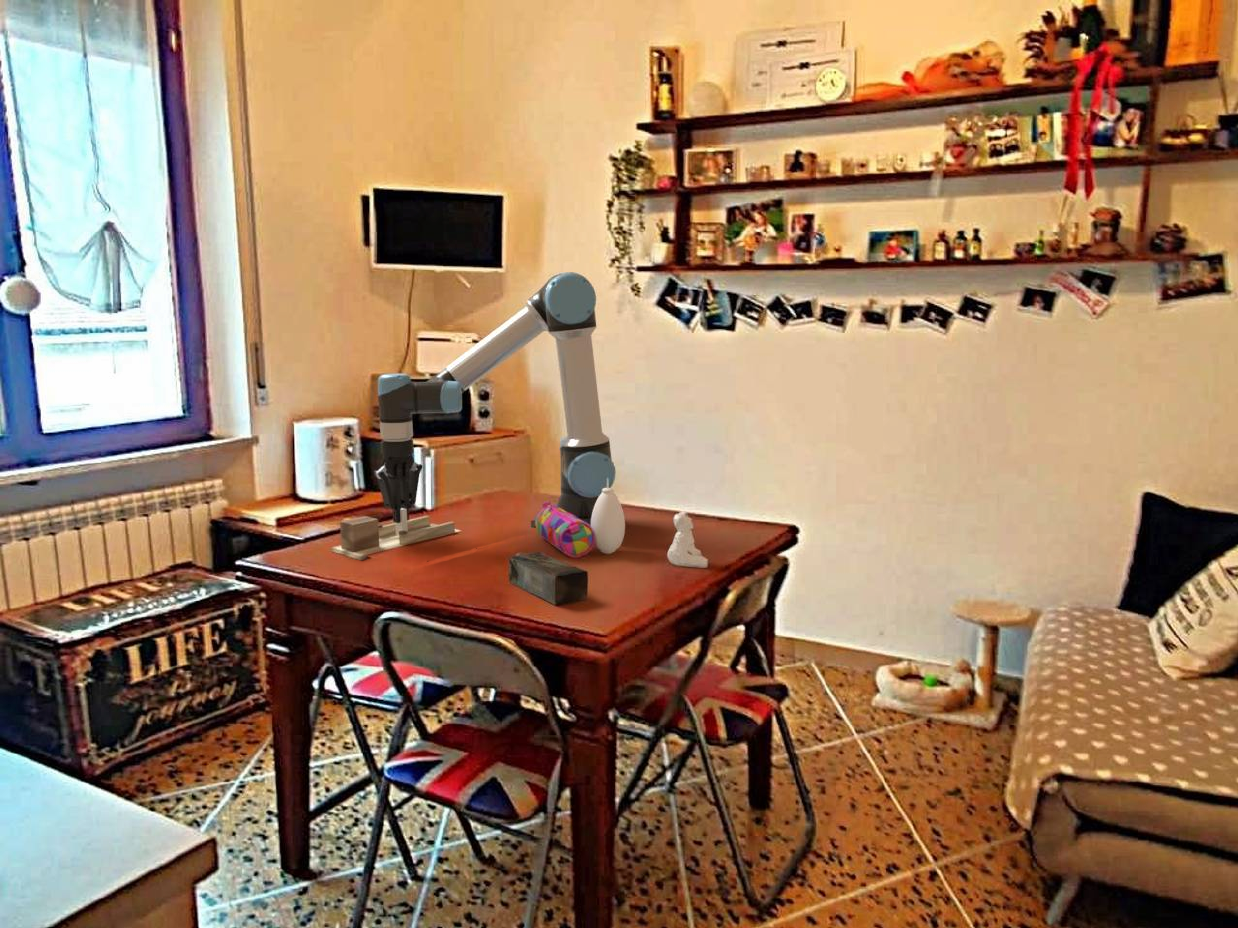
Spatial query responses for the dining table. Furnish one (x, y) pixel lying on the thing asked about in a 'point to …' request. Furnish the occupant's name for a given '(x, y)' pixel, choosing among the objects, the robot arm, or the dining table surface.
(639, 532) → the dining table surface
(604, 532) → the sauce bottle
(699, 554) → the white creature statuette
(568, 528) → the pencil case
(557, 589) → the dark grey block
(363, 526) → the walnut block
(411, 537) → the railed wooden board
